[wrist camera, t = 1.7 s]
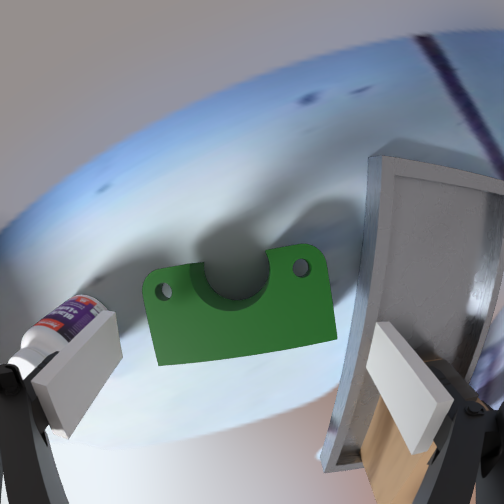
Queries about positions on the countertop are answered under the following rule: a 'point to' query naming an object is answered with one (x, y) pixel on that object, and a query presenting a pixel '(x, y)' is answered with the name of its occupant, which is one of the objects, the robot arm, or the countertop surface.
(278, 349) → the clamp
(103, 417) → the countertop surface
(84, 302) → the pill bottle
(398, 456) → the wooden block
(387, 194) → the grey tray
